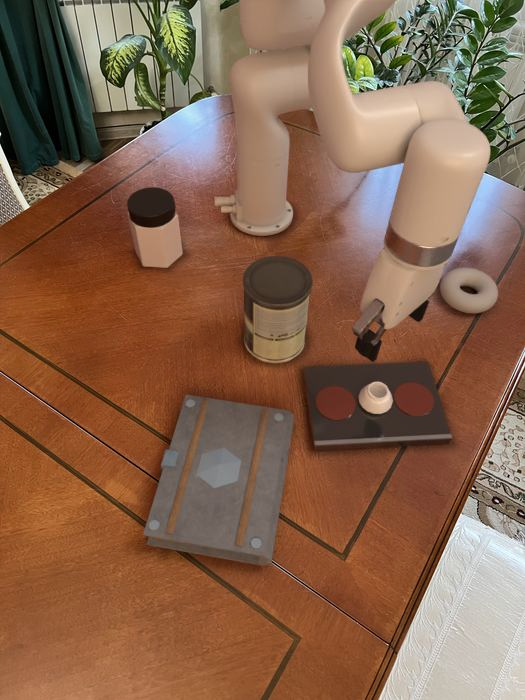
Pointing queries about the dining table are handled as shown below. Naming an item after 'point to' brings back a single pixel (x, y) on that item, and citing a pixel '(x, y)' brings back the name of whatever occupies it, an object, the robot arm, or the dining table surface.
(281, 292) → the coffee can
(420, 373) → the hob
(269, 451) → the book
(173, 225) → the jar
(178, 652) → the dining table surface
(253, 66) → the robot arm
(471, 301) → the donut
